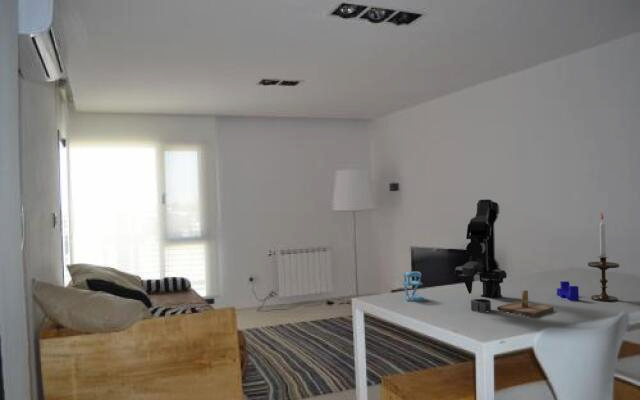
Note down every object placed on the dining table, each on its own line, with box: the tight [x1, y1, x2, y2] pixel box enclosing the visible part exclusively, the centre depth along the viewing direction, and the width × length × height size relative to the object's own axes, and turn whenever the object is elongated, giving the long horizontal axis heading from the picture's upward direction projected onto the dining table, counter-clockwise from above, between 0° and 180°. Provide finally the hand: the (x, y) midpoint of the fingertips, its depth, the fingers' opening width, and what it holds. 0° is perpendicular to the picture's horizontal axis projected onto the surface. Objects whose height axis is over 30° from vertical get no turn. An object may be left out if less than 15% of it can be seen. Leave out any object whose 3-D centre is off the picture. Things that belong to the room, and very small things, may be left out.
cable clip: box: [556, 280, 580, 302], centre depth 197 cm, size 12×4×6 cm, turn 170°
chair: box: [402, 271, 426, 302], centre depth 203 cm, size 8×8×12 cm
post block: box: [496, 289, 554, 318], centre depth 177 cm, size 14×14×8 cm
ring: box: [470, 298, 492, 313], centre depth 180 cm, size 7×7×4 cm
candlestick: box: [587, 212, 620, 303], centre depth 192 cm, size 11×11×35 cm
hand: (480, 295), depth 180 cm, fingers open, 9 cm apart
